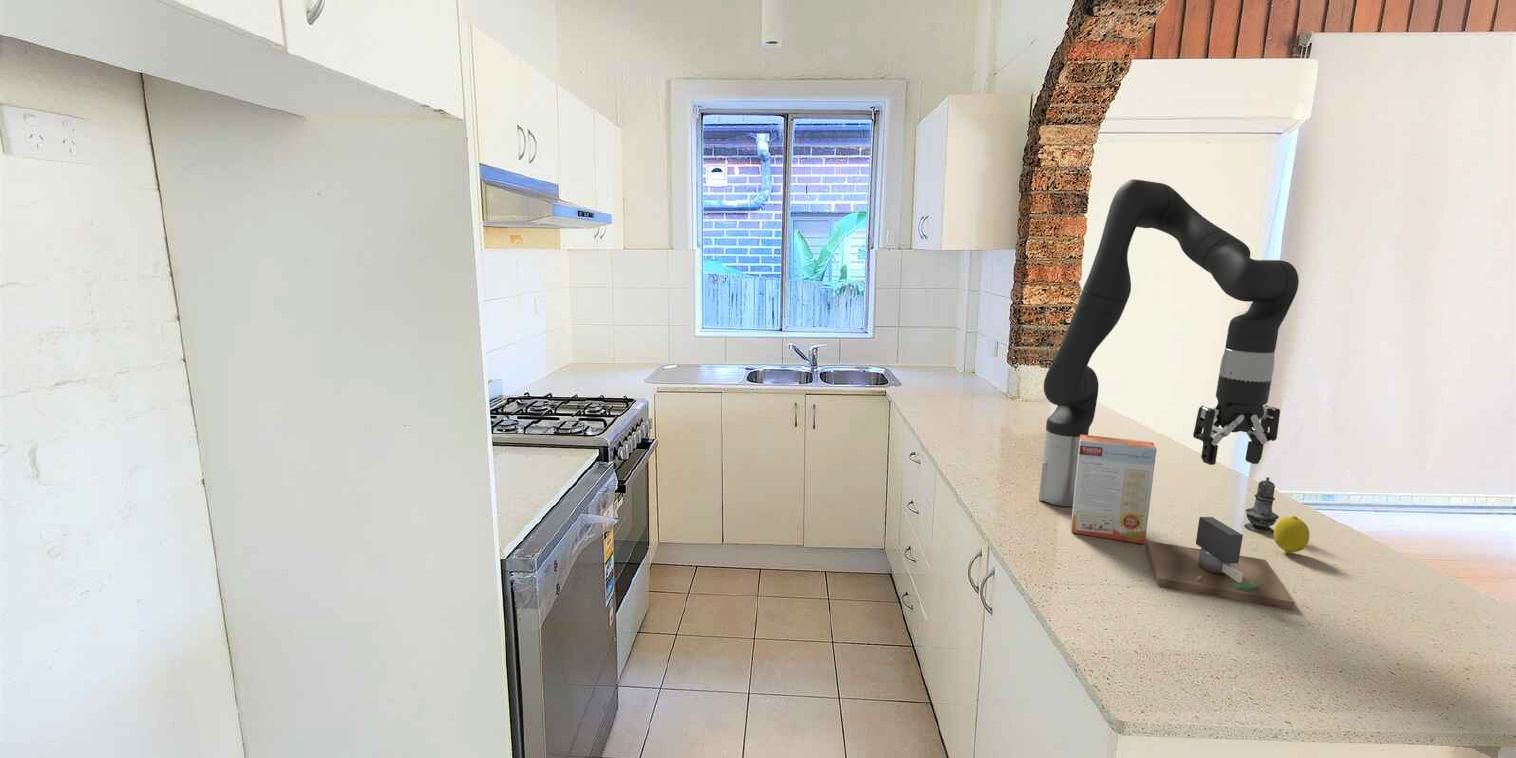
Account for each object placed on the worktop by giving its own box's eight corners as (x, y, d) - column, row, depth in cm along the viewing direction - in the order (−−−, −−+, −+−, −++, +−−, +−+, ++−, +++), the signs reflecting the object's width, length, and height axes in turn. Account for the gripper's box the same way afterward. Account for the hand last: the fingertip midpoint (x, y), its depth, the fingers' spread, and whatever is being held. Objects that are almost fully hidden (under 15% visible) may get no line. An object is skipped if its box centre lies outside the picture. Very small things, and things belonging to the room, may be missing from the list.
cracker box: (1142, 534, 141) (1154, 440, 137) (1145, 545, 136) (1158, 448, 132) (1070, 522, 147) (1080, 432, 143) (1070, 533, 142) (1080, 439, 138)
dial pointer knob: (1186, 557, 127) (1192, 516, 126) (1212, 557, 127) (1218, 516, 126) (1225, 584, 117) (1232, 541, 115) (1253, 584, 117) (1260, 541, 115)
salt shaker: (1281, 535, 141) (1291, 482, 139) (1251, 533, 142) (1259, 480, 140) (1267, 524, 147) (1276, 473, 145) (1237, 522, 148) (1245, 471, 146)
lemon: (1298, 549, 135) (1305, 513, 133) (1310, 561, 130) (1317, 523, 128) (1266, 545, 137) (1272, 509, 135) (1277, 557, 131) (1283, 519, 130)
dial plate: (1157, 585, 120) (1158, 576, 120) (1145, 547, 135) (1147, 538, 135) (1293, 610, 112) (1295, 600, 112) (1264, 566, 127) (1266, 557, 127)
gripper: (1224, 380, 111) (1210, 471, 115) (1301, 379, 113) (1284, 469, 116) (1191, 371, 119) (1178, 457, 122) (1264, 370, 120) (1249, 455, 124)
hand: (1230, 463), depth 119 cm, fingers open, 8 cm apart
